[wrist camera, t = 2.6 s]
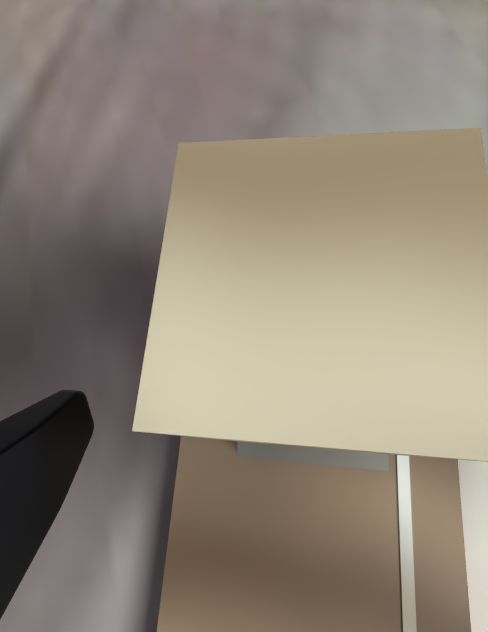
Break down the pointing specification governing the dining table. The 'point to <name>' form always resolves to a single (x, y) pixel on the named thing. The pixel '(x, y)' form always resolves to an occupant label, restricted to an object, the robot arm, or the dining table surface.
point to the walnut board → (313, 545)
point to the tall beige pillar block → (324, 299)
